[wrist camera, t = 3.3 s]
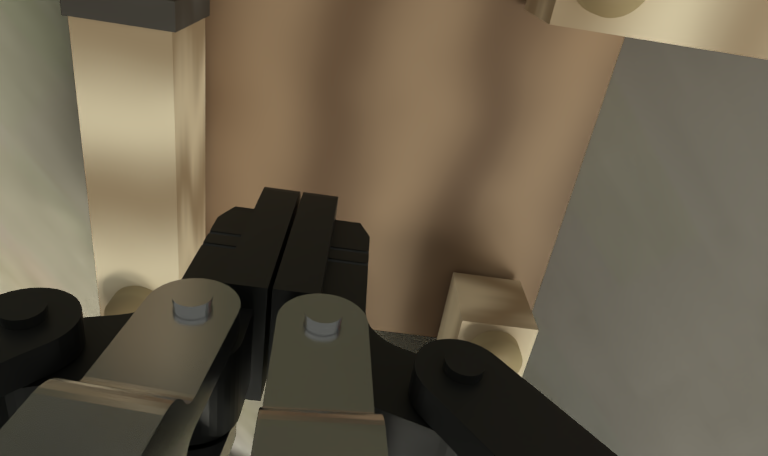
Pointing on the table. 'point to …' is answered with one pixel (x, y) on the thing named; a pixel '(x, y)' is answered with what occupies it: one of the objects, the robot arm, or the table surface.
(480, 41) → the stool seat
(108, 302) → the stool leg
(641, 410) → the table surface
